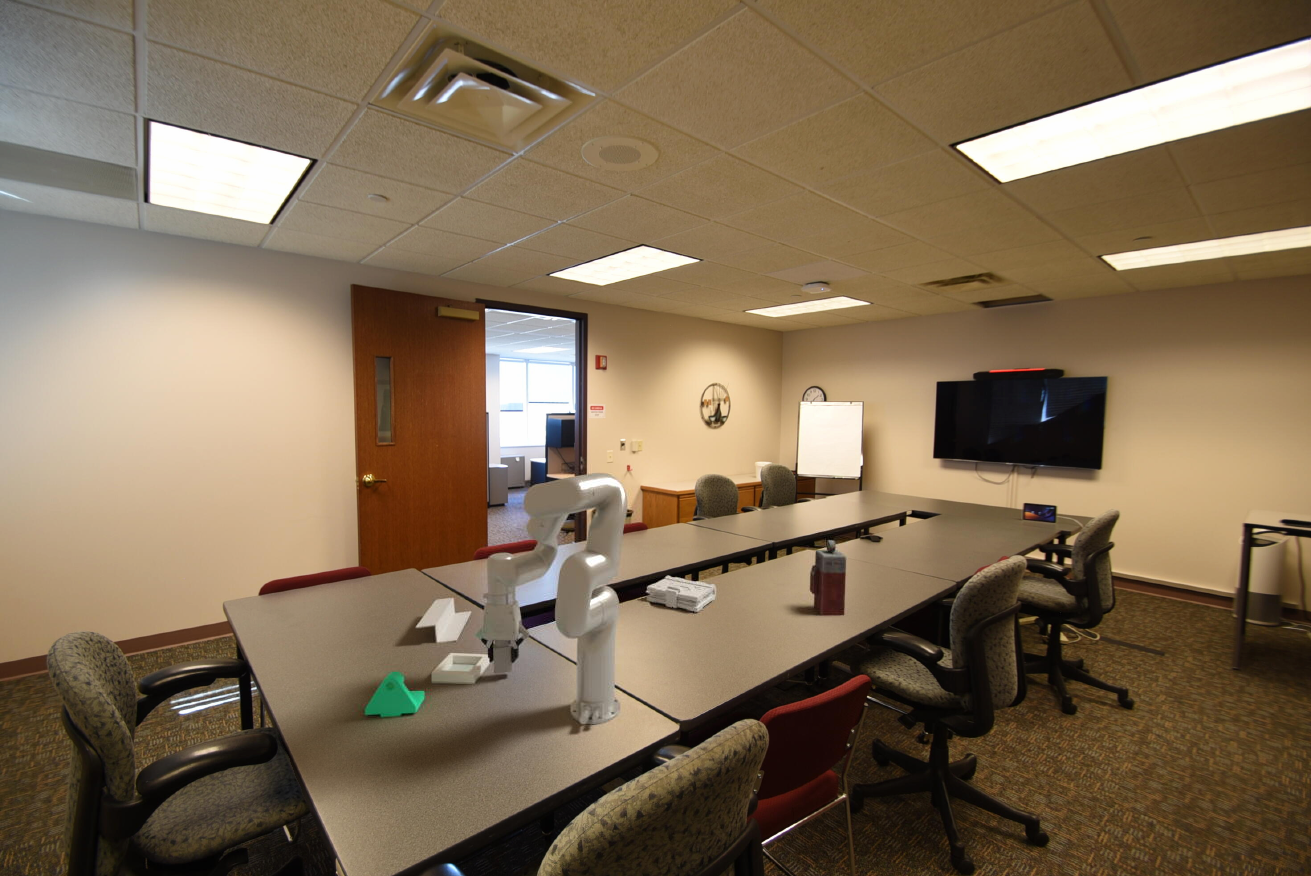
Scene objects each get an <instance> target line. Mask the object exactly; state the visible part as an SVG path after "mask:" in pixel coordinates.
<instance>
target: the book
mask: <svg viewBox="0 0 1311 876" xmlns="http://www.w3.org/2000/svg"><path fill="white" fill-rule="evenodd" d="M646 589H647V590H646V591H645V593H647V594H649V595H647V596H646V601H648V602H651V603H656V604H657V603H658V604H664V605H665V607H669V608H672V607H673V608H672V609H677V608H681V609H684V610H687V611H691V612H693V611H694V613H698V612H700V611H701V610H702V609H703V608H704V607H705V606H707V604H709V603H711V602H714V601H715V599H716V595H717V586H716V584H714V583H711V584H709V583H706V582H702V581H693V580H689V579H685V578H681V577H677V576H675V577H673V576H671V575H666V576H665V577H664V578H663V579H661V580H658V581H657V582H655V583H652V584H650V585H648V586H646ZM713 600H714V601H713Z"/></svg>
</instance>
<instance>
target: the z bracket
mask: <svg viewBox="0 0 1311 876" xmlns="http://www.w3.org/2000/svg"><path fill="white" fill-rule="evenodd" d="M471 614H472V611H471V610H470V611H462V612H456V611H455V598H454V597H448V598H439V599H438V598H437V599H435V601H433V603H432V605H430V607H429V608H428V610H427V611H426V612H425V614H424V615H423V616H422V617H421V619H420V620H419V621H418V623H417V625H416V626H415V629H420V628H428V627H434V632H435V642H436V644H441V643H443V644H444V643H451V642H457V641H458V639H459V636H460V635H461V633H462V631H463V629H464V627H465V625H466V623H467V621H468V620H469V618H470V616H471Z"/></svg>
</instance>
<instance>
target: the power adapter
mask: <svg viewBox="0 0 1311 876" xmlns="http://www.w3.org/2000/svg"><path fill="white" fill-rule="evenodd" d="M512 648H513V646H512V643H511V641H510V640H494V645H493V673H494V674H495V675H497V674H502V673H503V674H505V673H510V672H513V671H514V669H515V667H514V666H515V665H514V663H515V662H514V663H512V662H511V649H512Z"/></svg>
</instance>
